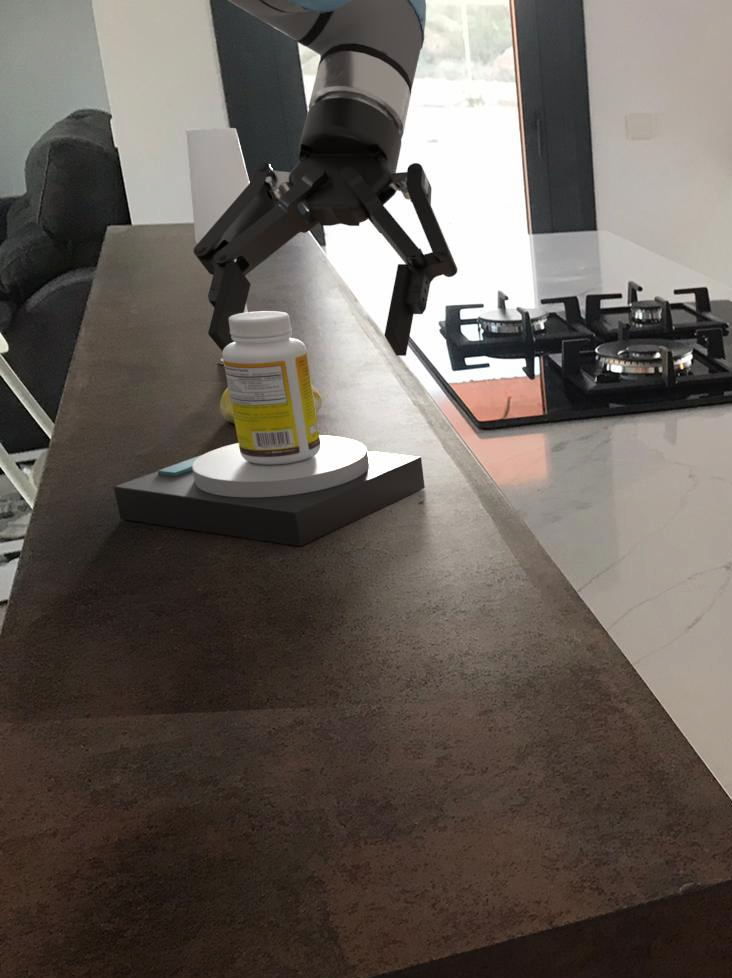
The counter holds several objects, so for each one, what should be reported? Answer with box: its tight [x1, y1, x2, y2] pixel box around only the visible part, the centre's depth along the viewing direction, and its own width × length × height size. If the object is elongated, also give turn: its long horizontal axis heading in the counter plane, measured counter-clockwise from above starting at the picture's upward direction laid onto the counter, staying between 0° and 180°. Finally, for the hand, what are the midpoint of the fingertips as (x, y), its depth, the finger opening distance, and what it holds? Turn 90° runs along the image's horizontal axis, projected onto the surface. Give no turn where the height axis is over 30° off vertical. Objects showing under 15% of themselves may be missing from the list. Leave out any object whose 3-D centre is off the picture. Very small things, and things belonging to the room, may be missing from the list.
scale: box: [113, 434, 426, 547], centre depth 95 cm, size 16×14×4 cm
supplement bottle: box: [221, 310, 321, 465], centre depth 92 cm, size 6×6×10 cm
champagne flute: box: [185, 127, 250, 361], centre depth 137 cm, size 7×7×24 cm
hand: (307, 345), depth 97 cm, fingers open, 13 cm apart
